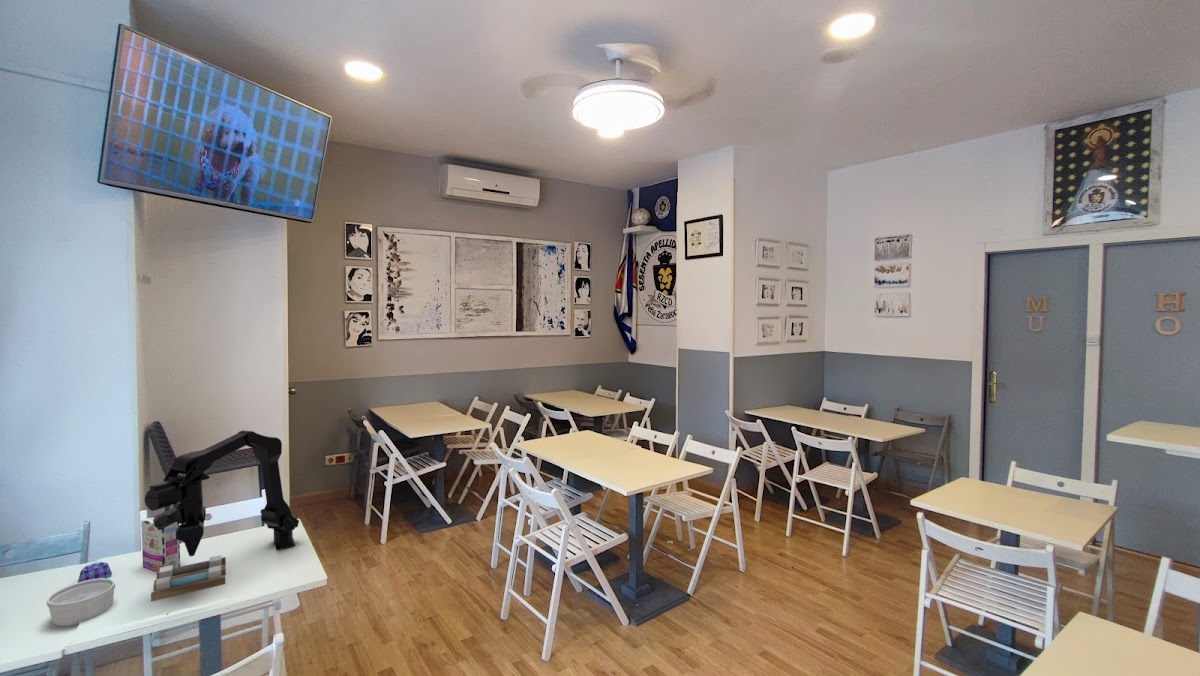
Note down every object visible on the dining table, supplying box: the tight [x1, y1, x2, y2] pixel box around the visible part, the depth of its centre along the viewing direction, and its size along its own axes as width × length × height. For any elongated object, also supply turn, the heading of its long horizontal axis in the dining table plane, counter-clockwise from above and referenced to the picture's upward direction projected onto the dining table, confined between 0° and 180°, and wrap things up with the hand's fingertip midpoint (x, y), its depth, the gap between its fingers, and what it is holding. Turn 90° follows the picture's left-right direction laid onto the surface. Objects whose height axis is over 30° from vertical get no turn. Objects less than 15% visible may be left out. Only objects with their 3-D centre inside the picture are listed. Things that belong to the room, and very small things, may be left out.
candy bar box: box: [140, 515, 181, 573], centre depth 168 cm, size 11×5×16 cm, turn 68°
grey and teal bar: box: [156, 565, 221, 591], centre depth 157 cm, size 15×4×4 cm, turn 125°
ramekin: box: [46, 578, 116, 628], centre depth 144 cm, size 13×13×7 cm
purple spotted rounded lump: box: [68, 561, 113, 586], centre depth 161 cm, size 12×12×5 cm
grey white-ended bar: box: [159, 554, 223, 579], centre depth 164 cm, size 15×4×4 cm, turn 125°
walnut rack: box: [150, 556, 227, 602], centre depth 161 cm, size 15×17×3 cm
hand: (192, 549), depth 158 cm, fingers open, 9 cm apart
